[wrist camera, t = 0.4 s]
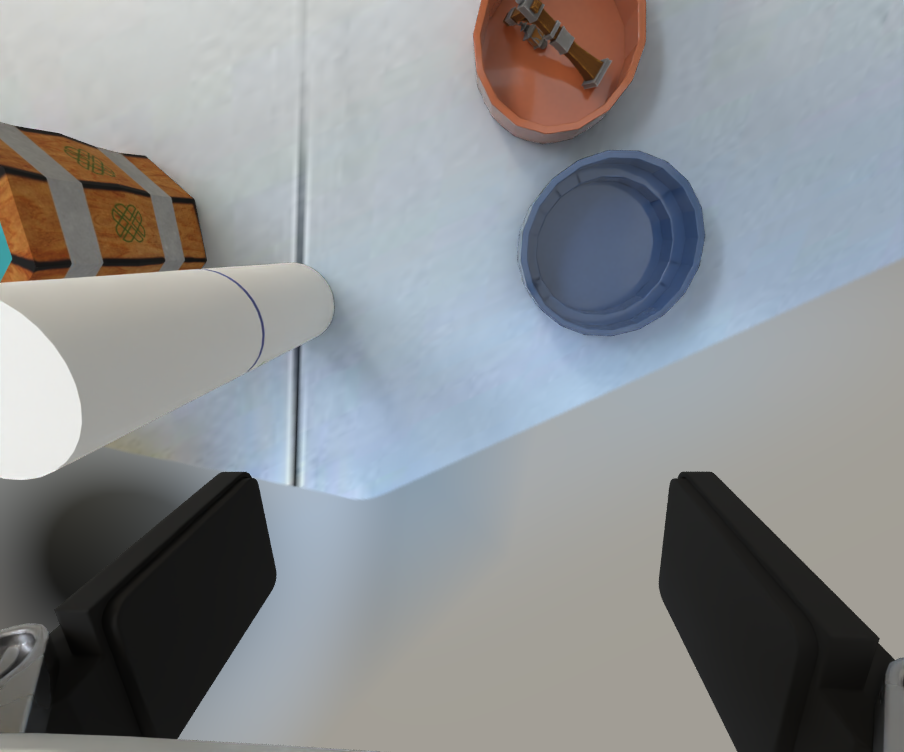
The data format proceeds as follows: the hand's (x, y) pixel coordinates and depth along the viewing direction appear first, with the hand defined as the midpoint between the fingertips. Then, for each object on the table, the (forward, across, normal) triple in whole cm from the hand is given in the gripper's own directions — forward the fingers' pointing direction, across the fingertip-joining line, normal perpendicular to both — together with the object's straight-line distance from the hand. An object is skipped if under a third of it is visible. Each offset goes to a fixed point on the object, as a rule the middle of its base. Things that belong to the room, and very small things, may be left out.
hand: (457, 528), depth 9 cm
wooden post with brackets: (+29, -6, -20) cm, 36 cm away
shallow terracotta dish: (+29, -6, -20) cm, 36 cm away
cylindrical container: (+30, +17, -2) cm, 34 cm away
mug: (+30, +34, -10) cm, 46 cm away
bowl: (+29, -10, -6) cm, 31 cm away
